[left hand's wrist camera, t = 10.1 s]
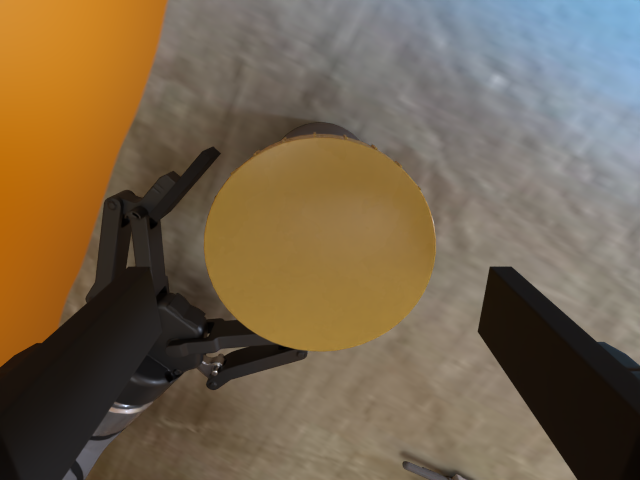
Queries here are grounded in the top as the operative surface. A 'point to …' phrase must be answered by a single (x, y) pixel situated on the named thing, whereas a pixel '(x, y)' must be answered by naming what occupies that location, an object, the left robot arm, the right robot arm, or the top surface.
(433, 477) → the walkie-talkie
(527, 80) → the top surface
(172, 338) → the right robot arm
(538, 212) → the top surface
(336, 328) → the lid
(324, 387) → the top surface
